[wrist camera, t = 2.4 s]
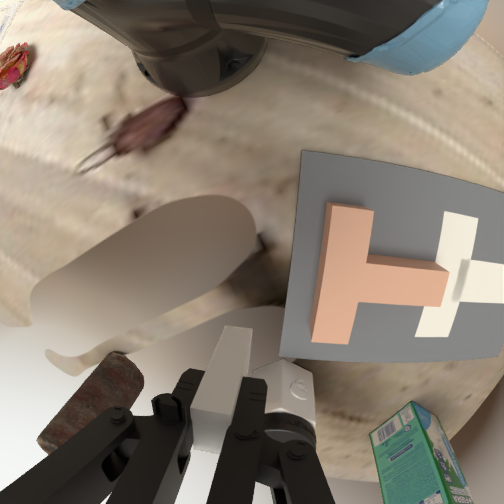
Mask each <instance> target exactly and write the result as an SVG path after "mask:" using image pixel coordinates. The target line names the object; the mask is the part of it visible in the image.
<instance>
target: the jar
mask: <svg viewBox="0 0 504 504" xmlns="http://www.w3.org/2000/svg"><path fill="white" fill-rule="evenodd" d="M251 377H252V378H260V379H264V380H265V382H266V384H267V386H268V390H267V398H266V406H265V414H264V422H263V428H264V431H265V433H266V434H267V435H268V436H269V437H271V438H272V439H274V440H276V441H279V442H282V443H285V442H287V441H290V440H303V441H306V442H308V443H309V444H311V445H312V446H313V448H314V449H315V451H316V435H315V426H316V411H315V398H314V385H313V374H312V373H311V372H310V371H308V370H305V369H303V368H301V367H300V366H298V365H296V364H294V363H292V362H289V361H288V360H286V359H281V360H278V361H276V362H273V363H270V364H268V365H266V366H263V367H260V368H257V369H255V370H253V371H252V375H251Z"/></svg>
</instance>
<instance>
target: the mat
mask: <svg viewBox="0 0 504 504" xmlns="http://www.w3.org/2000/svg"><path fill="white" fill-rule="evenodd" d="M327 202H333V203H341V204H348V205H356V206H363V207H366V208H368V209H371V210H373V211H374V216H373V223H372V230H371V237H370V243H369V249H368V254H373V255H382V256H391V257H400V258H408V259H417V260H425V261H434V262H435V263H437V264H438V265H440V266H441V267H443V268H444V269H446V270H447V271H449V272H450V273H449V277H448V281H447V285H446V289H445V293H444V296H443V300H442V303H441V307H429V306H411V305H395V304H380V303H367V302H358V305H357V310H356V314H355V318H354V323H353V327H352V331H351V335H350V339H349V342H348V344H332V343H318V342H311V335H310V327H309V322H310V317H311V311H312V305H313V299H314V293H315V287H316V280H317V274H318V267H319V260H320V253H321V246H322V238H323V230H324V222H325V213H326V204H327ZM503 344H504V193H502V192H499V191H496V190H493V189H490V188H487V187H483V186H480V185H477V184H473V183H470V182H466V181H463V180H459V179H455V178H452V177H448V176H444V175H440V174H436V173H432V172H427V171H423V170H419V169H414V168H409V167H405V166H400V165H395V164H390V163H384V162H379V161H373V160H367V159H361V158H355V157H349V156H342V155H335V154H328V153H320V152H311V151H303V150H302V157H301V169H300V180H299V191H298V202H297V212H296V222H295V231H294V240H293V249H292V258H291V266H290V275H289V283H288V291H287V298H286V306H285V313H284V321H283V328H282V335H281V342H280V348H279V357H289V358H300V359H313V360H327V361H346V362H383V363H404V362H439V361H457V360H470V359H481V358H491V357H498V355H499V353H500V351H501V348H502V346H503Z"/></svg>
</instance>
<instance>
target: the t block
mask: <svg viewBox="0 0 504 504" xmlns="http://www.w3.org/2000/svg"><path fill="white" fill-rule="evenodd" d="M373 216H374V211H373V210H371V209H368V208H366V207H363V206H356V205H348V204H341V203H333V202H327V204H326V213H325V222H324V230H323V238H322V246H321V253H320V260H319V267H318V274H317V280H316V287H315V293H314V299H313V305H312V311H311V317H310V322H309V327H310V335H311V342H318V343H332V344H348V342H349V339H350V335H351V331H352V327H353V323H354V318H355V314H356V310H357V305H358V302H367V303H380V304H395V305H411V306H429V307H441V303H442V300H443V296H444V293H445V289H446V285H447V281H448V277H449V273H450V272H449V271H447V270H446V269H444V268H443V267H441V266H440V265H438V264H437V263H435V262H434V261H425V260H417V259H408V258H400V257H391V256H382V255H373V254H368V249H369V243H370V237H371V230H372V223H373Z"/></svg>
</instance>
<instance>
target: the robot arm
mask: <svg viewBox="0 0 504 504" xmlns="http://www.w3.org/2000/svg"><path fill="white" fill-rule="evenodd" d="M53 1H54V2H56V3H57V4H58V5H59V6H60V7H61V8H62V9H64V10H70V11H72V12H73V13H75V14H77V15H78V16H80V17H82V18H84V19H85V20H87V21H88V22H90V23H92V24H93V25H95V26H97V27H98V28H100V29H101V30H103V31H105V32H106V33H108V34H109V35H111V36H112V37H114V38H115V39H117V40H118V41H120V42H121V43H123V44H124V45H126V46H128V47H129V48H130V49H131V51H132V53H133V55H134V58H135V60H136V62H137V65H138V67H139V69H140V71H141V73H142V74H143V75H144V76H145V78H146V79H147V80H148V81H150V82H151V83H152V84H153V85H155V86H157V87H158V88H160V89H161V90H163V91H165V92H167V93H170V94H172V95H176V96H181V97H203V96H209V95H213V94H216V93H219V92H222V91H224V90H226V89H229V88H230V87H232V86H234V85H236V84H237V83H239V82H240V81H242V80H243V79H244V78H246V77H247V76H248V75H249V74H250V73H251V72H252V71H253V70H254V69H255V67H256V66H257V65H258V63H259V62H260V60H261V59H262V57H263V55H264V52H265V50H266V46H267V41H268V38H273V39H278V40H283V41H288V42H292V43H296V44H300V45H304V46H308V47H312V48H316V49H319V50H323V51H326V52H330V53H333V54H336V55H339V56H342V57H343V58H344V59H345V60H347V61H351V62H364V63H367V64H370V65H373V66H376V67H379V68H382V69H385V70H387V71H390V72H393V73H396V74H400V75H415V74H419V73H422V72H428V71H431V70H433V69H435V68H437V67H439V66H440V65H442V64H443V63H445V62H446V61H447V60H449V59H450V58H451V57H452V56H454V55H455V54H456V53H457V52H458V51H459V50H460V49H461V48H462V47H463V46H464V44H465V43H466V42H467V41H468V40H469V38H470V37H471V36H472V34H473V33H474V32H475V30H476V28H477V27H478V25H479V24H480V22H481V20H482V18H483V16H484V14H485V11H486V9H487V5H488V2H489V0H53ZM251 340H252V329H250V328H242V327H234V326H227V325H225V327H224V329H223V331H222V334H221V336H220V339H219V341H218V343H217V346H216V348H215V350H214V353H213V355H212V357H211V360H210V362H209V364H208V367H207V369H206V371H202V370H197V369H191V368H190V369H188V370H187V371H185V372H184V373H183V374H182V375H181V377H180V379H179V382H178V383H177V385H176V387H175V388H174V390H173V392H172V394H169V393H165V394H160V395H158V396H156V397H154V398H153V400H151V402H152V407H153V412H154V415H152V416H133V414H132V412H131V411H130V410H129V409H127V408H125V407H122V406H114V407H110V408H108V409H106V410H105V411H103V412H102V413H101V414H100V415H98V416H97V417H96V418H95V419H94V420H92V421H91V422H90V423H89V424H87V425H86V426H85V427H84V428H82V429H81V430H80V431H79V432H77V433H76V434H75V435H74V436H72V437H71V438H70V439H69V440H67V441H66V442H65V443H63V444H62V445H61V446H60V447H58V448H57V449H56V450H55V451H53V452H52V453H51V454H49V455H48V456H47V457H46V458H45V459H43V460H42V461H40V462H39V463H38V464H37V465H35V466H34V467H33V468H31V469H30V470H29V471H27V472H26V473H25V474H24V475H22V476H21V477H19V478H18V479H17V480H16V481H14V482H13V483H12V484H10V485H9V486H7V487H6V488H5V489H3V490H2V491H0V504H100V503H101V502H102V501H103V500H104V499H105V498H106V497H107V496H108V495H109V494H110V493H111V492H112V493H111V495H110V497H109V499H108V500H107V502H106V504H174V503H175V500H176V497H177V495H178V492H179V489H180V486H181V483H182V481H183V478H184V475H185V472H186V469H187V466H188V464H189V461H190V456H191V455H190V450H191V447H192V445H193V447H194V449H196V450H201V451H206V452H211V453H216V454H220V456H219V460H218V463H217V467H216V471H215V474H214V478H213V481H212V485H211V489H210V492H209V496H208V499H207V503H206V504H252V500H253V494H254V488H255V481H256V482H259V483H261V484H264V485H267V486H269V487H270V489H271V494H272V499H273V504H335V501H334V499H333V496H332V494H331V491H330V488H329V486H328V483H327V480H326V478H325V475H324V472H323V470H322V467H321V464H320V462H319V459H318V456H317V454H316V451H315V449H314V448H313V446H312V445H311V444H309V443H308V442H306V441H303V440H290V441H287V442H285V443H282V442H279V441H276V440H274V439H272V438H271V437H269V436H268V435H267V434H266V433H265V431H264V428H263V422H264V414H265V406H266V398H267V390H268V386H267V384H266V382H265V380H264V379H260V378H252V377H247V375H248V370H249V362H250V351H251Z"/></svg>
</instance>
